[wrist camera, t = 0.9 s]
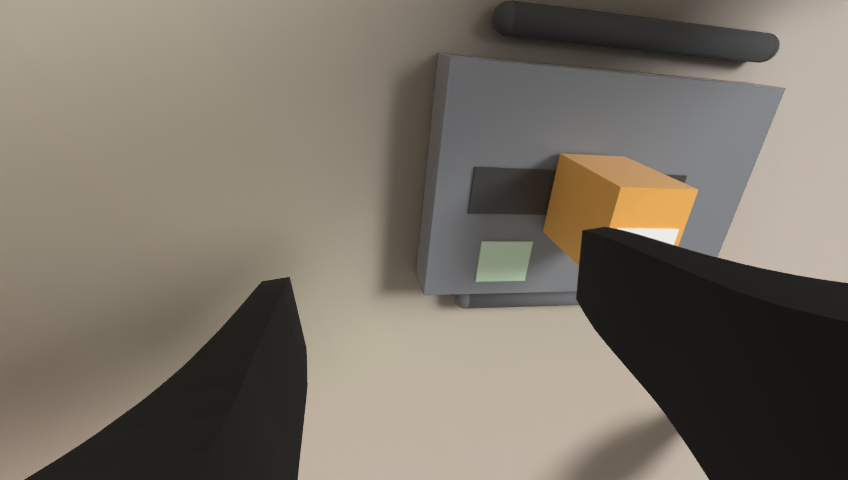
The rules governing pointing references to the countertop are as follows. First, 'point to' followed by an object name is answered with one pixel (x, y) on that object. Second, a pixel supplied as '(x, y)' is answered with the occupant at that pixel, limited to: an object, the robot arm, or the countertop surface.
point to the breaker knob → (614, 201)
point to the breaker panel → (570, 134)
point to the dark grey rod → (632, 32)
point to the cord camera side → (515, 299)
